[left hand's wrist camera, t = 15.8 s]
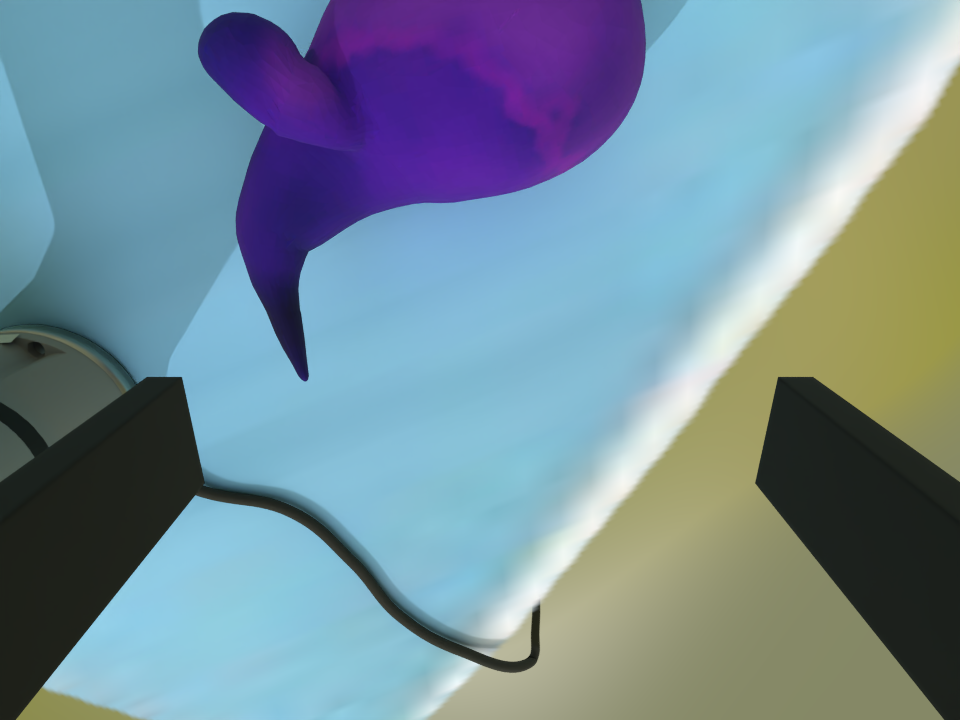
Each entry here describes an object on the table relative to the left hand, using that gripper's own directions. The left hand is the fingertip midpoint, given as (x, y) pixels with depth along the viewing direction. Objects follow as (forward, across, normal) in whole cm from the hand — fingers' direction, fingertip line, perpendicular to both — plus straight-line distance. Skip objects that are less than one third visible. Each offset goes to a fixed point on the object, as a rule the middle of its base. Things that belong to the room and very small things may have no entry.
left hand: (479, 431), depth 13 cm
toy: (+32, -4, +7) cm, 33 cm away
